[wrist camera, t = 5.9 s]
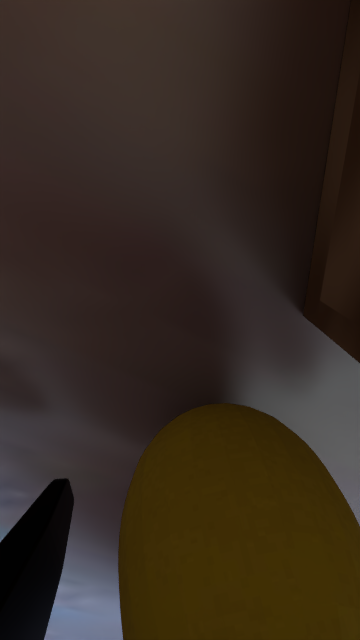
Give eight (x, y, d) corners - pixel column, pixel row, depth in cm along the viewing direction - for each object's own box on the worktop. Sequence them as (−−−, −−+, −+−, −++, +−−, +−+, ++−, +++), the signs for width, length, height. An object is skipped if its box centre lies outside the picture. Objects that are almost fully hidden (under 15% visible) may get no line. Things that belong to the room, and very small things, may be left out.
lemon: (197, 490, 12) (254, 931, 5) (101, 416, 10) (-39, 959, 3) (309, 420, 11) (602, 862, 4) (224, 323, 9) (485, 837, 2)
